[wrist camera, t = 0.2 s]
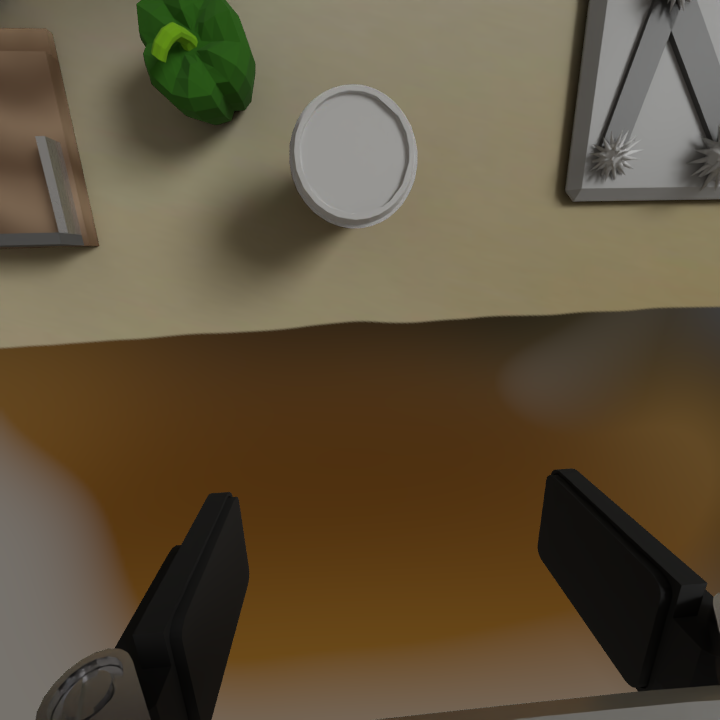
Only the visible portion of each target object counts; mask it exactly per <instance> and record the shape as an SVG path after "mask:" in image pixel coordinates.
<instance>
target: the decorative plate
mask: <svg viewBox="0 0 720 720" xmlns="http://www.w3.org/2000/svg"><path fill="white" fill-rule="evenodd" d="M565 192H566V193H567V194H568V196H569V197H570V199H571V200H572V201H573V202H576V201H640V200H704V199H720V0H589V4H588V12H587V20H586V28H585V36H584V44H583V52H582V60H581V68H580V76H579V84H578V92H577V100H576V108H575V116H574V124H573V131H572V139H571V147H570V155H569V163H568V171H567V179H566V187H565Z"/></svg>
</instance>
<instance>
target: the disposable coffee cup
mask: <svg viewBox="0 0 720 720" xmlns="http://www.w3.org/2000/svg"><path fill="white" fill-rule="evenodd" d="M290 168H291V173H292V178H293V180H294V183H295V185H296V188H297V191H298V192H299V194H300V195H301V197H302V199H303V200H304V202H305V203H306V204H307V205H308V206H309V207H310V208H311V209H312V211H313V212H314V213H315V214H317V215H318V216H320V217H321V218H323V219H324V220H326V221H327V222H329V223H332V224H335V225H337V226H340V227H344V228H364V227H369V226H372V225H375V224H377V223H380V222H382V221H384V220H385V219H387V218H388V217H390V216H391V215H392V214H393V213H395V212H396V210H397V209H398V208H399V207H400V206H401V205H402V204H403V202H404V201H405V199H406V198H407V196H408V194H409V193H410V190H411V188H412V185H413V183H414V180H415V175H416V169H417V147H416V141H415V137H414V134H413V131H412V128H411V125H410V123H409V122H408V120H407V118H406V116H405V114H404V113H403V112H402V110H401V109H400V108H399V107H398V105H397V104H395V102H394V101H393V100H391V99H390V98H389V97H388V96H387V95H385V94H384V93H382V92H380V91H378V90H377V89H374V88H371V87H368V86H365V85H357V84H350V85H341V86H338V87H334V88H331V89H329V90H327V91H325V92H323V93H321V94H320V95H319V96H317V97H316V98H315V99H313V100H312V101H311V102H310V103H309V104H308V105H307V106H306V108H305V109H304V110H303V112H302V113H301V115H300V116H299V118H298V120H297V122H296V125H295V127H294V130H293V132H292V137H291V142H290Z"/></svg>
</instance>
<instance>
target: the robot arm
mask: <svg viewBox="0 0 720 720" xmlns="http://www.w3.org/2000/svg"><path fill="white" fill-rule="evenodd" d="M538 552H539V555H540V558H541V560H542V561H543V563H544V564H545V565H546V567H547V568H548V570H549V571H550V572H551V574H552V576H553V577H554V578H555V580H556V581H557V583H558V584H559V586H560V587H561V589H562V590H563V591H564V593H565V594H566V596H567V597H568V599H569V600H570V602H571V603H572V604H573V606H574V607H575V609H576V610H577V612H578V613H579V615H580V616H581V617H582V619H583V620H584V622H585V623H586V625H587V626H588V628H589V629H590V631H591V632H592V633H593V635H594V636H595V638H596V639H597V641H598V642H599V644H600V645H601V646H602V648H603V649H604V651H605V652H606V654H607V655H608V657H609V658H610V659H611V661H612V662H613V664H614V665H615V667H616V668H617V669H618V671H619V672H620V674H621V675H622V677H623V678H624V680H625V681H626V682H627V683H628V684H629V685H630V686H632V687H635V688H636V689H637V690H638V692H631V693H621V694H611V695H602V696H601V695H600V696H590V697H580V698H570V699H561V700H551V701H541V702H531V703H522V704H513V705H503V706H494V707H485V708H475V709H466V710H457V711H448V712H439V713H430V714H420V715H411V716H403V717H394V718H386V719H377V720H720V593H718V594H717V595H716V596H714V597H713V596H712V595H711V594H710V593H709V592H707V591H706V590H705V589H706V585H707V582H705V581H704V580H703V579H702V578H701V577H700V576H699V575H697V574H696V573H695V572H694V571H693V570H692V569H690V568H689V567H688V566H687V565H686V564H685V563H683V562H682V561H681V560H680V559H679V558H678V557H676V556H675V555H674V554H673V553H672V552H671V551H670V550H668V549H667V548H666V547H665V546H664V545H663V544H661V543H660V542H659V541H658V540H657V539H656V538H655V537H653V536H652V535H651V534H650V533H649V532H648V531H646V530H645V529H644V528H643V527H642V526H641V525H639V524H638V523H637V522H636V521H635V520H634V519H633V518H631V517H630V516H629V515H628V514H626V512H624V511H623V510H622V509H621V508H620V507H619V506H617V505H616V504H615V503H614V502H613V501H611V499H609V498H608V497H607V496H606V495H605V494H604V493H602V492H601V491H600V490H599V489H598V488H597V487H595V486H594V485H593V484H592V483H591V482H590V481H588V480H587V479H586V478H585V477H584V476H583V475H581V474H580V473H579V472H578V471H577V470H575V469H561V470H554V471H552V473H551V475H549V476H548V477H547V480H546V488H545V494H544V502H543V509H542V517H541V525H540V532H539V540H538ZM248 581H249V566H248V559H247V553H246V546H245V539H244V533H243V526H242V519H241V512H240V505H239V500H238V497H232V494H231V493H230V492H225V493H211V494H209V495H208V497H207V499H206V500H205V502H204V504H203V506H202V508H201V510H200V512H199V514H198V515H197V517H196V519H195V521H194V523H193V524H192V527H191V528H190V530H189V532H188V534H187V536H186V538H185V539H184V541H183V543H182V545H176V546H175V547H173V548H172V550H171V551H170V552H169V554H168V556H167V557H166V559H165V561H164V563H163V564H162V566H161V568H160V570H159V571H158V573H157V575H156V577H155V579H154V580H153V582H152V584H151V585H150V587H149V589H148V591H147V592H146V594H145V596H144V598H143V599H142V601H141V603H140V605H139V607H138V609H137V610H136V612H135V614H134V615H133V617H132V619H131V620H130V622H129V624H128V626H127V628H126V629H125V631H124V633H123V634H122V636H121V638H120V640H119V641H118V643H117V645H116V647H115V648H114V649H105V650H102V651H99V652H95V653H93V654H91V655H90V656H88V657H86V658H84V659H82V660H80V661H79V662H78V663H76V664H75V665H74V666H72V667H71V668H70V669H68V670H67V671H66V672H65V673H64V674H63V675H62V676H61V677H60V678H59V679H58V680H57V681H56V682H55V683H54V684H53V686H52V687H51V688H50V690H49V691H48V692H47V694H46V695H45V696H44V698H43V700H42V702H41V704H40V707H39V709H38V711H37V714H36V720H211V719H212V715H213V712H214V708H215V704H216V701H217V696H218V693H219V690H220V686H221V682H222V678H223V675H224V671H225V667H226V664H227V660H228V656H229V653H230V649H231V645H232V641H233V638H234V634H235V630H236V626H237V623H238V619H239V615H240V611H241V608H242V604H243V600H244V597H245V593H246V590H247V586H248Z"/></svg>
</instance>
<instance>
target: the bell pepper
mask: <svg viewBox="0 0 720 720" xmlns="http://www.w3.org/2000/svg"><path fill="white" fill-rule="evenodd" d="M137 14H138V25H139V33H140V38H141V40H142V42H143V43H144V45H145V47H146V48H145V50H144V53H143V55H144V61H145V65H146V68H147V71H148V74H149V77H150V80H151V83H152V85H153V86H154V87H155V88H156V89H157V90H159V91H160V92H161V93H162V94H163V95H164V96H165V97H166V98H167V99H168V100H169V101H170V102H171V103H172V104H174V105H175V106H176V107H177V108H178V109H179V110H180V111H181V112H182V113H183V114H185V115H186V116H188V117H191V118H194V119H197V120H200V121H204V122H207V123H210V124H214V125H218V124H222V123H225V122H228V121H231V120H232V117H233V113H234V111H240V110H245V109H246V108H247V106H248V105H249V104H250V102H251V100H252V93H253V85H254V79H255V61H254V58H253V56H252V53H251V50H250V47H249V44H248V41H247V38H246V35H245V32H244V30H243V27H242V24H241V21H240V19H239V16H238V15H237V14H236V12H235V11H234V10H233V9H232V7H231V6H230V5H229V4H228V3H227V1H226V0H141V1H140V2H138V3H137Z"/></svg>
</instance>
